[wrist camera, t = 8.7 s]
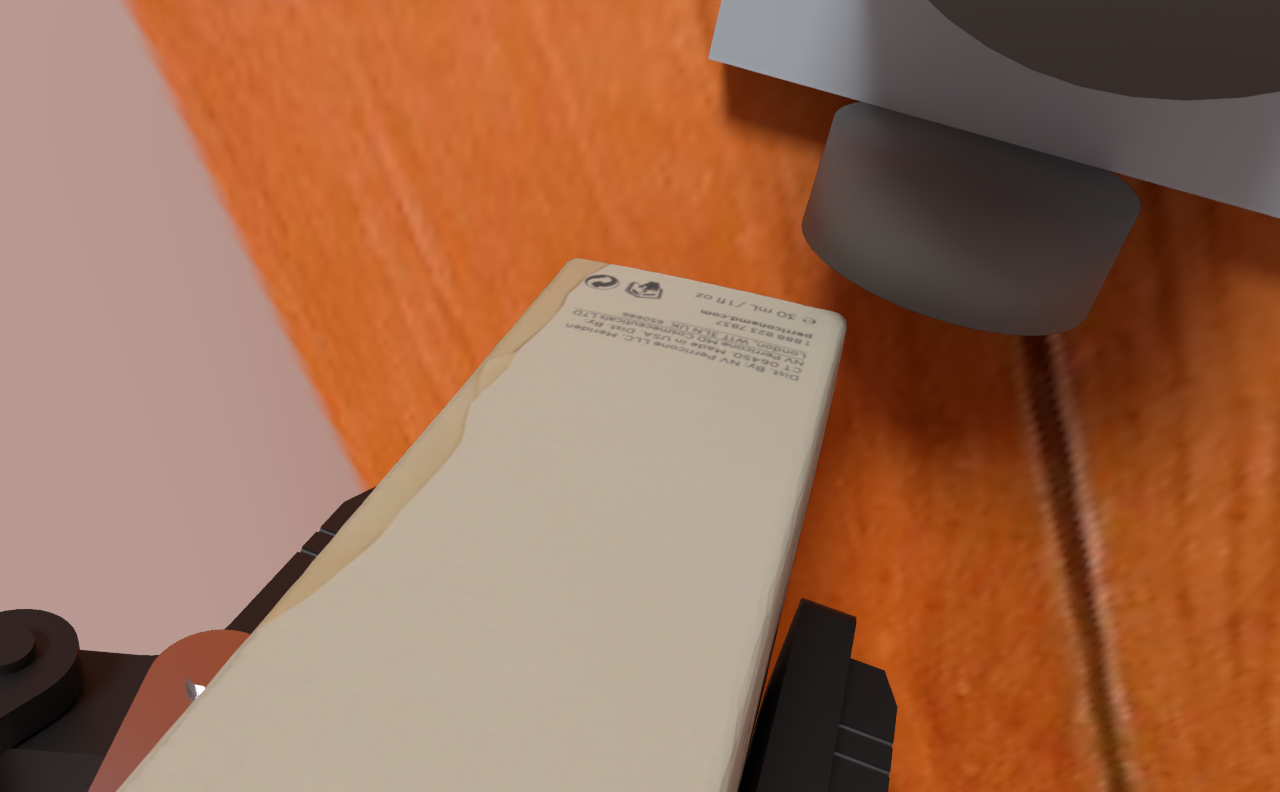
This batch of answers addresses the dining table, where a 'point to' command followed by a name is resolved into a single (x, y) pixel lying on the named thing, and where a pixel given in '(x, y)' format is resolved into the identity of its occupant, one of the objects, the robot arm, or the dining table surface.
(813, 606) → the robot arm
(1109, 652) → the dining table surface
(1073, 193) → the chassis
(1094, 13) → the wheel
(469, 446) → the skincare box
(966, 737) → the dining table surface
